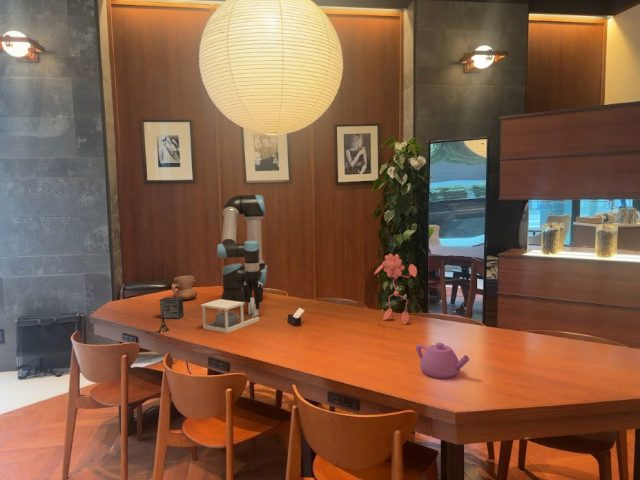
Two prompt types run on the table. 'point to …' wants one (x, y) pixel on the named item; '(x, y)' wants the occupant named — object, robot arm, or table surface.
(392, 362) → the table surface
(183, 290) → the ceramic jug
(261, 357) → the table surface
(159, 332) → the eiffel tower figurine
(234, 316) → the block
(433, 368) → the teapot
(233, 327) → the frame
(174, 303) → the small box
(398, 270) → the pink flower figurine
